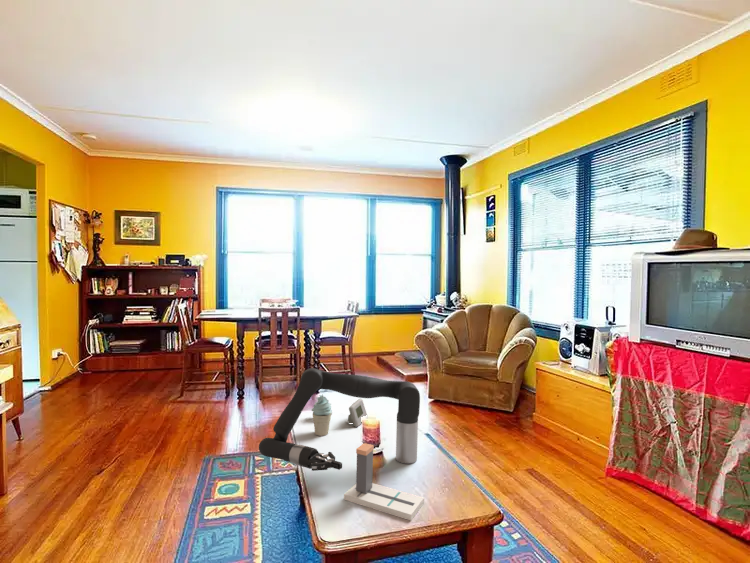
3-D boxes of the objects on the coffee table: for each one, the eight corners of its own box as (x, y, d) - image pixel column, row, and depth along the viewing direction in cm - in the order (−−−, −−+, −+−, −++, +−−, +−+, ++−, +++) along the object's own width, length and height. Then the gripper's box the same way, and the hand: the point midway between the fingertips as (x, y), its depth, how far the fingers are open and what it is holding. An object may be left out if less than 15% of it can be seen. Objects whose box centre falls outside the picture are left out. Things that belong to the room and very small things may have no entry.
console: (360, 484, 165) (360, 479, 165) (423, 503, 153) (424, 497, 153) (343, 499, 154) (344, 493, 154) (411, 520, 142) (411, 514, 142)
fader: (363, 483, 161) (364, 443, 160) (372, 486, 159) (373, 445, 158) (355, 491, 155) (356, 448, 155) (365, 494, 153) (366, 451, 153)
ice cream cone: (328, 428, 220) (329, 389, 220) (333, 436, 210) (334, 396, 209) (309, 430, 217) (309, 391, 216) (313, 438, 207) (313, 397, 206)
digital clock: (356, 428, 221) (357, 408, 221) (342, 425, 226) (342, 405, 225) (372, 419, 235) (372, 400, 235) (358, 416, 240) (358, 397, 239)
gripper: (293, 453, 163) (331, 463, 155) (313, 440, 175) (350, 449, 167) (293, 472, 163) (331, 483, 156) (313, 458, 175) (349, 468, 167)
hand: (341, 466), depth 161 cm, fingers closed
